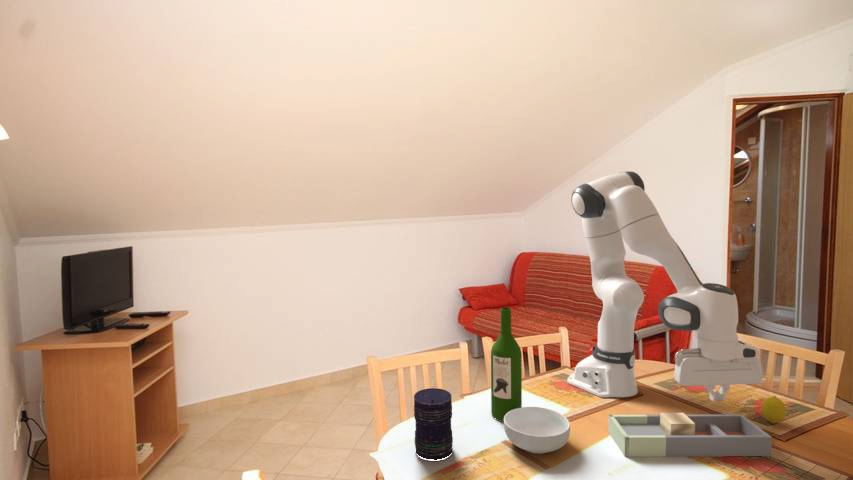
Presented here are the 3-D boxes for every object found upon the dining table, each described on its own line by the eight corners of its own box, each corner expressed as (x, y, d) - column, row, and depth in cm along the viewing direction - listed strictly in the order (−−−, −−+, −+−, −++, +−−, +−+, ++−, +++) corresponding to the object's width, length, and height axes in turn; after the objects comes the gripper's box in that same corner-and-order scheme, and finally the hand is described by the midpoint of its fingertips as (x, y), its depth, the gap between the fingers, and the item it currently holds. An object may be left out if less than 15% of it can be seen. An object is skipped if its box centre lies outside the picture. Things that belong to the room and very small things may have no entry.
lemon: (789, 429, 130) (791, 401, 129) (766, 427, 131) (768, 399, 130) (778, 419, 135) (780, 392, 135) (757, 418, 137) (758, 391, 136)
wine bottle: (488, 419, 140) (486, 311, 136) (495, 406, 148) (494, 303, 144) (518, 424, 136) (518, 313, 133) (524, 410, 144) (524, 305, 141)
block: (670, 438, 121) (670, 423, 121) (659, 427, 127) (660, 412, 126) (694, 438, 121) (695, 423, 120) (682, 427, 127) (683, 412, 126)
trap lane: (624, 456, 119) (625, 437, 118) (608, 432, 131) (608, 414, 130) (770, 456, 117) (772, 437, 117) (740, 431, 129) (741, 414, 129)
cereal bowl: (581, 444, 125) (581, 418, 124) (550, 472, 113) (550, 443, 112) (525, 423, 137) (525, 400, 136) (491, 447, 125) (491, 421, 124)
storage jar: (416, 441, 128) (414, 388, 127) (452, 441, 128) (451, 387, 126) (413, 462, 118) (412, 404, 117) (453, 462, 118) (452, 404, 117)
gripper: (680, 353, 118) (681, 406, 120) (766, 350, 117) (766, 404, 118) (669, 345, 124) (669, 396, 126) (751, 342, 123) (750, 393, 124)
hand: (717, 400), depth 122 cm, fingers closed
